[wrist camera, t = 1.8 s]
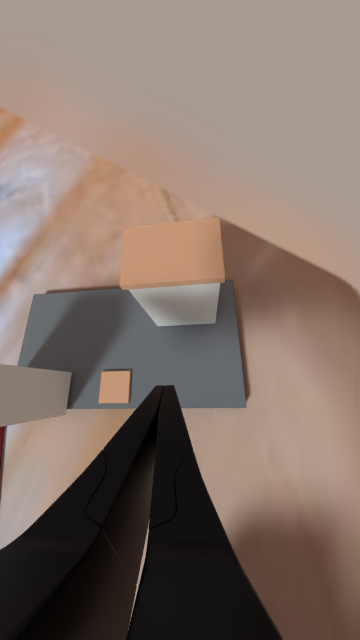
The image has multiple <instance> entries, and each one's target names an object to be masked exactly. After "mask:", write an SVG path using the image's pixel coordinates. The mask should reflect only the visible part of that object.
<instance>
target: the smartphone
mask: <svg viewBox="0 0 360 640" xmlns="http://www.w3.org/2000/svg"><path fill="white" fill-rule="evenodd" d="M3 429H4V426H2V427H0V465H1V453H2V441H3Z"/></svg>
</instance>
